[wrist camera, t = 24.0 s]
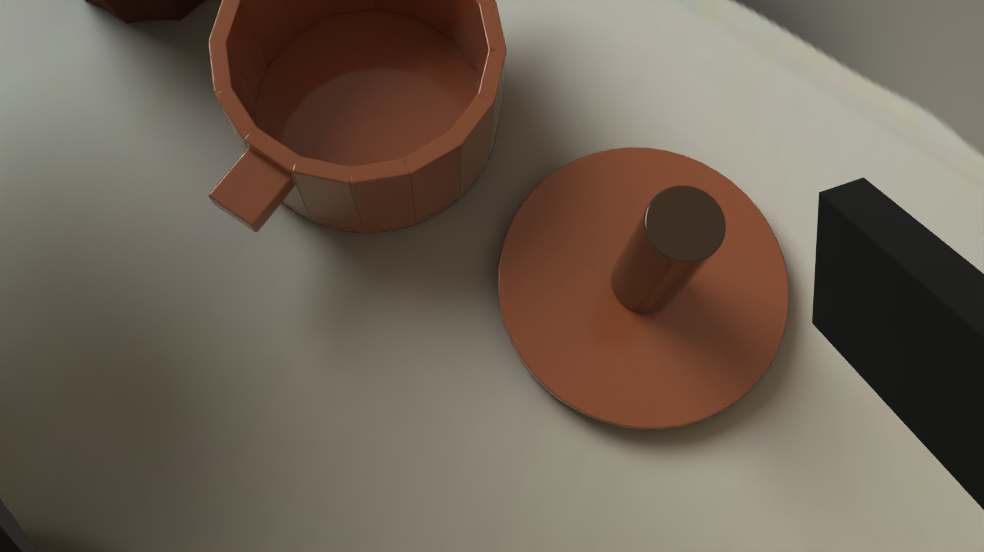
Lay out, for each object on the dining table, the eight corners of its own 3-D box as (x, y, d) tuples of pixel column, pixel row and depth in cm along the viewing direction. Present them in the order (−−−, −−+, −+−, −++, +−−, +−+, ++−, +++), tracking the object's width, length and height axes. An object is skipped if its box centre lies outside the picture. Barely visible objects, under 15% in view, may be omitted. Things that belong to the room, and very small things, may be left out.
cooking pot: (153, 181, 45) (105, 122, 38) (375, -73, 49) (364, -163, 43) (365, 327, 43) (350, 290, 37) (573, 49, 48) (591, -26, 42)
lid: (440, 322, 43) (436, 264, 34) (595, 108, 47) (628, 5, 38) (688, 491, 41) (752, 476, 33) (830, 255, 45) (922, 183, 36)
